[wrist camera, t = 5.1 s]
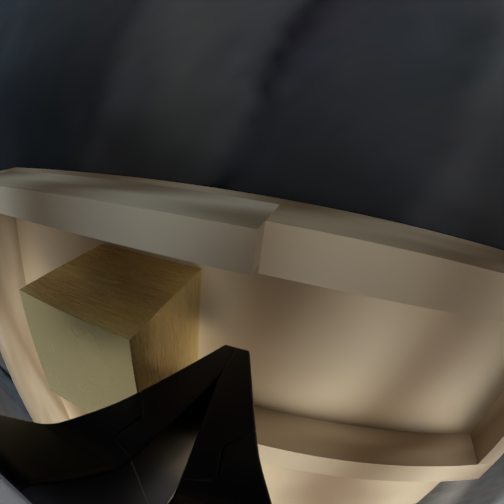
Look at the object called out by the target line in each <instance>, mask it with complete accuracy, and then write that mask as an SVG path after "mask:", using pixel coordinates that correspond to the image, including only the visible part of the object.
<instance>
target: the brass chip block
mask: <svg viewBox="0 0 504 504" xmlns="http://www.w3.org/2000/svg"><path fill="white" fill-rule="evenodd" d="M201 273H202V269H201V268H197V267H193V266H189V265H185V264H181V263H176V262H172V261H168V260H164V259H160V258H156V257H152V256H148V255H144V254H140V253H136V252H132V251H128V250H124V249H120V248H117V247H113V246H109V245H105V244H101V245H99V246H97V247H95V248H93V249H91V250H89V251H87V252H85V253H84V254H82V255H80V256H78V257H76V258H74V259H72V260H71V261H69V262H67V263H65V264H63V265H61V266H60V267H58V268H56V269H54V270H52V271H51V272H49V273H47V274H45V275H43V276H42V277H40V278H38V279H36V280H35V281H33V282H31V283H30V284H28V285H26V286H24V287H23V288H21V289H19V291H20V296H21V300H22V304H23V308H24V312H25V315H26V319H27V323H28V326H29V330H30V333H31V336H32V340H33V343H34V346H35V349H36V352H37V355H38V358H39V361H40V364H41V366H42V369H43V372H44V374H45V377H46V380H47V382H48V385H49V387H50V390H51V391H53V392H54V393H56V394H57V395H59V396H61V397H62V398H64V399H65V400H67V401H69V402H70V403H72V404H74V405H75V406H77V407H79V408H80V409H82V410H84V411H86V412H87V413H91V412H94V411H97V410H99V409H102V408H105V407H107V406H110V405H112V404H115V403H117V402H119V401H121V400H123V399H126V398H128V397H130V396H132V395H134V394H136V393H138V392H141V391H142V390H144V389H146V388H148V387H149V386H151V385H153V384H155V383H157V382H159V381H161V380H163V379H165V378H166V377H168V376H170V375H172V374H174V373H176V372H177V371H179V370H181V369H183V368H185V367H187V366H188V365H190V364H192V363H194V362H196V361H197V360H198V342H199V314H200V292H201Z"/></svg>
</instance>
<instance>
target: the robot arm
mask: <svg viewBox="0 0 504 504" xmlns="http://www.w3.org/2000/svg"><path fill="white" fill-rule="evenodd" d="M176 488H177V489H176ZM175 490H176V491H175ZM174 492H175V493H174ZM173 493H174V495H173ZM172 495H173V497H172ZM171 497H172V498H171ZM170 498H171V500H170ZM169 500H170V501H169ZM168 501H169V502H168ZM167 503H168V504H272V502H271V499H270V495H269V492H268V488H267V485H266V481H265V478H264V474H263V470H262V466H261V462H260V457H259V450H258V443H257V432H256V422H255V410H254V399H253V387H252V375H251V362H250V352H249V351H248V350H244V349H241V348H237V347H233V346H229V345H224V346H222V347H220V348H218V349H217V350H215V351H213V352H211V353H210V354H208V355H206V356H204V357H203V358H201V359H199V360H197V361H196V362H194V363H192V364H190V365H188V366H187V367H185V368H183V369H181V370H179V371H177V372H176V373H174V374H172V375H170V376H168V377H166V378H165V379H163V380H161V381H159V382H157V383H155V384H153V385H151V386H149V387H148V388H146V389H144V390H142V391H141V392H138V393H136V394H134V395H132V396H130V397H128V398H126V399H123V400H121V401H119V402H117V403H115V404H112V405H110V406H107V407H105V408H102V409H99V410H97V411H94V412H91V413H88V414H85V415H82V416H79V417H76V418H73V419H70V420H67V421H63V422H59V423H53V424H41V423H35V422H30V421H25V420H21V419H16V418H12V417H7V416H3V415H0V504H167Z"/></svg>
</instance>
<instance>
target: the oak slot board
mask: <svg viewBox="0 0 504 504" xmlns="http://www.w3.org/2000/svg"><path fill="white" fill-rule="evenodd" d="M101 244H105V245H109V246H113V247H117V248H120V249H124V250H128V251H132V252H136V253H140V254H144V255H148V256H152V257H156V258H160V259H164V260H168V261H172V262H176V263H181V264H185V265H189V266H193V267H197V268H201V269H202V273H201V292H200V314H199V342H198V360H199V359H201V358H203V357H204V356H206V355H208V354H210V353H211V352H213V351H215V350H217V349H218V348H220V347H222V346H224V345H229V346H233V347H237V348H241V349H244V350H248V351H249V352H250V362H251V375H252V387H253V399H254V410H255V422H256V432H257V443H258V450H259V457H260V462H261V466H262V470H263V474H264V478H265V481H266V485H267V488H268V492H269V495H270V499H271V502H272V504H416V503H417V502H418V501H419V500H421V499H422V498H423V497H424V496H425V495H426V494H428V493H429V492H430V491H431V490H432V489H433V488H434V487H435V486H436V485H438V484H439V483H440V482H441V481H456V480H469V479H478V478H479V477H480V476H481V475H482V474H483V473H484V472H486V471H487V470H488V469H489V468H490V467H491V466H492V465H493V464H494V463H495V462H496V461H497V460H498V459H499V458H500V456H501V455H502V454H503V453H504V250H500V249H497V248H493V247H490V246H486V245H483V244H479V243H476V242H472V241H468V240H465V239H461V238H457V237H454V236H450V235H446V234H442V233H438V232H434V231H430V230H426V229H422V228H418V227H414V226H410V225H406V224H402V223H397V222H393V221H389V220H384V219H380V218H375V217H371V216H366V215H362V214H357V213H352V212H348V211H343V210H338V209H333V208H328V207H323V206H318V205H313V204H307V203H302V202H297V201H291V200H286V199H280V198H275V197H269V196H263V195H257V194H251V193H245V192H239V191H233V190H226V189H220V188H213V187H207V186H200V185H193V184H185V183H178V182H170V181H162V180H154V179H146V178H138V177H129V176H119V175H110V174H100V173H89V172H78V171H65V170H52V169H37V168H20V167H15V168H10V169H6V170H2V171H0V351H1V354H2V356H3V359H4V361H5V364H6V366H7V368H8V371H9V373H10V375H11V377H12V380H13V382H14V384H15V386H16V388H17V390H18V392H19V394H20V396H21V398H22V400H23V402H24V404H25V406H26V408H27V410H28V412H29V414H30V416H31V417H32V419H33V421H34V422H35V423H41V424H53V423H59V422H63V421H67V420H70V419H73V418H76V417H79V416H82V415H85V414H88V413H87V412H86V411H84V410H82V409H80V408H79V407H77V406H75V405H74V404H72V403H70V402H69V401H67V400H65V399H64V398H62V397H61V396H59V395H57V394H56V393H54V392H53V391H51V390H50V387H49V385H48V382H47V380H46V377H45V374H44V372H43V369H42V366H41V364H40V361H39V358H38V355H37V352H36V349H35V346H34V343H33V340H32V336H31V333H30V330H29V326H28V323H27V319H26V315H25V312H24V308H23V304H22V300H21V296H20V291H19V289H21V288H23V287H24V286H26V285H28V284H30V283H31V282H33V281H35V280H36V279H38V278H40V277H42V276H43V275H45V274H47V273H49V272H51V271H52V270H54V269H56V268H58V267H60V266H61V265H63V264H65V263H67V262H69V261H71V260H72V259H74V258H76V257H78V256H80V255H82V254H84V253H85V252H87V251H89V250H91V249H93V248H95V247H97V246H99V245H101ZM176 489H177V488H176ZM175 491H176V490H175ZM174 493H175V492H174ZM174 493H173V495H174ZM173 495H172V497H173ZM172 497H171V498H172ZM171 498H170V500H171ZM170 500H169V501H170ZM169 501H168V502H169ZM167 504H168V503H167Z"/></svg>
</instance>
